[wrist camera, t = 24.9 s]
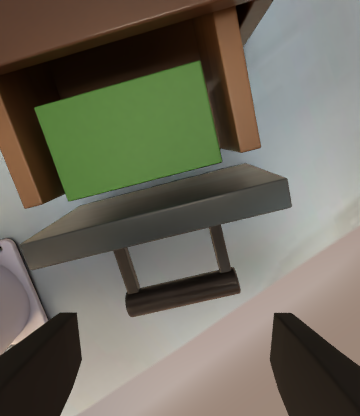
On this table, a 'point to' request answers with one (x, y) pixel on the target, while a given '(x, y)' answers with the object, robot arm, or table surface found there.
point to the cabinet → (98, 24)
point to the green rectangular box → (131, 132)
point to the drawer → (155, 196)
